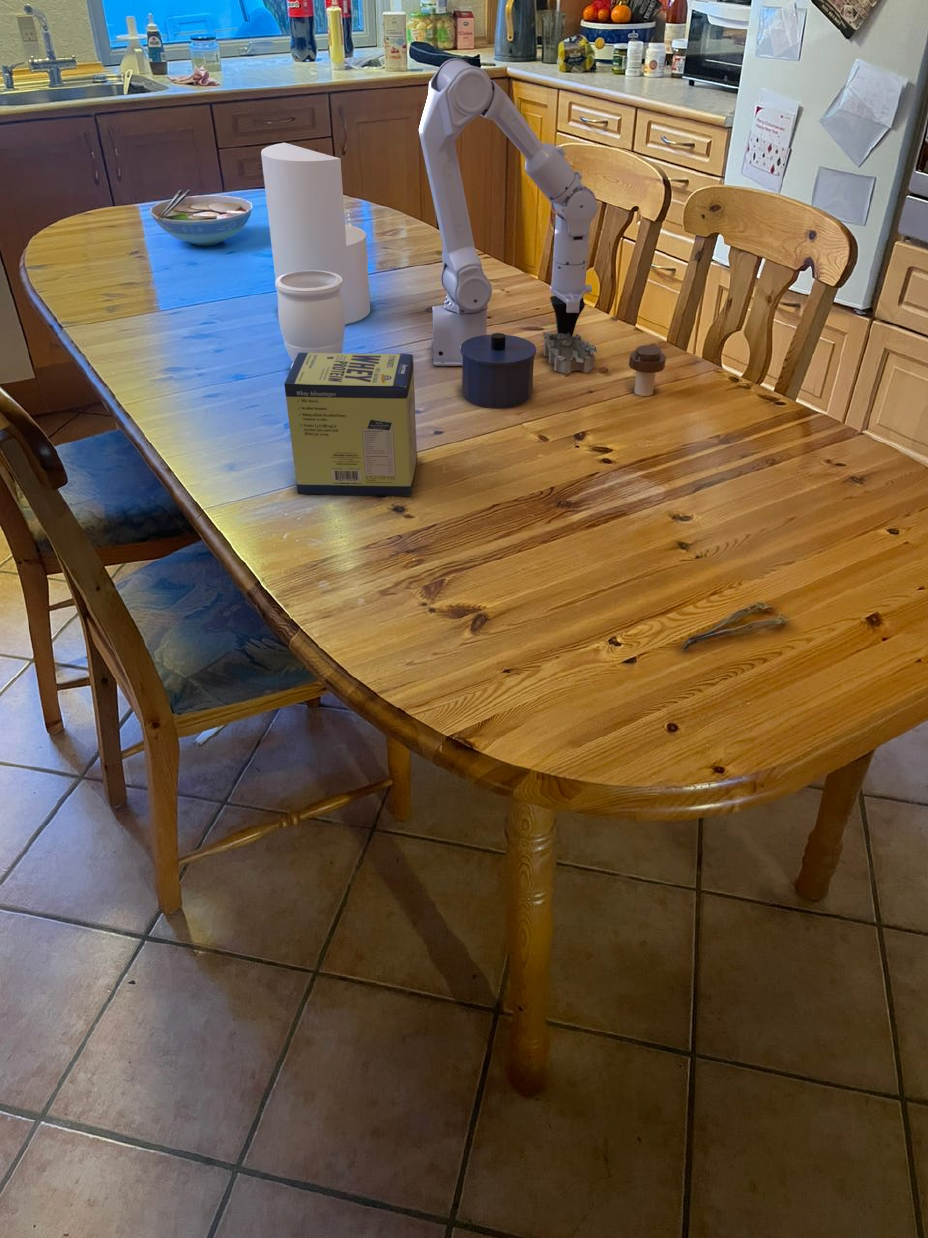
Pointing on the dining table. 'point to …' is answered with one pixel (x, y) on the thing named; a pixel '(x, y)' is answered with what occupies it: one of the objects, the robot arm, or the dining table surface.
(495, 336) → the pot lid
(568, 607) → the dining table surface
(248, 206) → the ramen bowl
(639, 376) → the mushroom
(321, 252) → the cylinder
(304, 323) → the jar
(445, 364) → the robot arm
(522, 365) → the pot
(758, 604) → the tongs
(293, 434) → the protein box
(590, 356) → the egg carton
